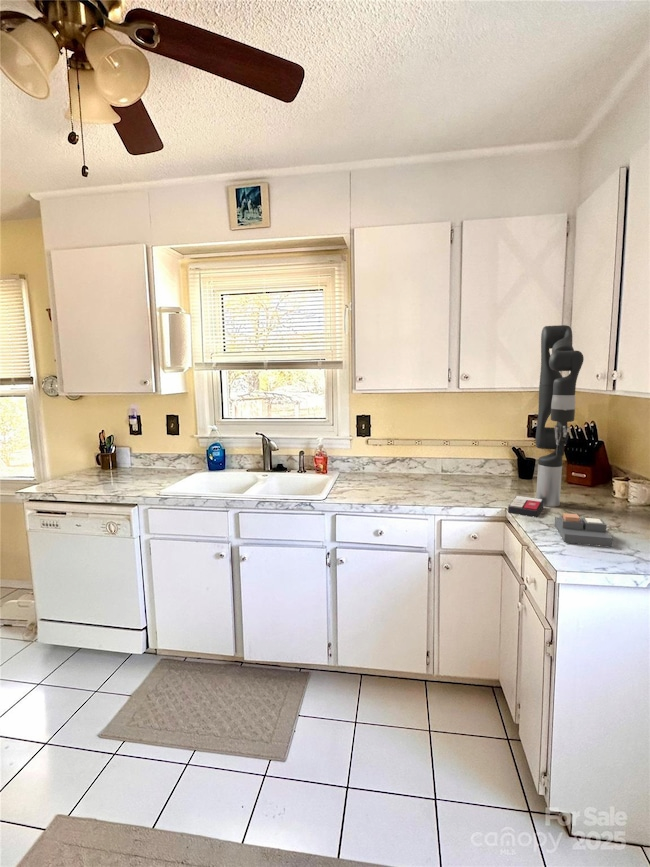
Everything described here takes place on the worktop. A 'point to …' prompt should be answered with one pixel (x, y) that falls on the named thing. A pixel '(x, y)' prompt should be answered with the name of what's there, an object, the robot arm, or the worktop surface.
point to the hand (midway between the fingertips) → (560, 455)
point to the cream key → (593, 520)
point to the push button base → (583, 532)
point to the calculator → (526, 506)
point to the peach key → (571, 517)
